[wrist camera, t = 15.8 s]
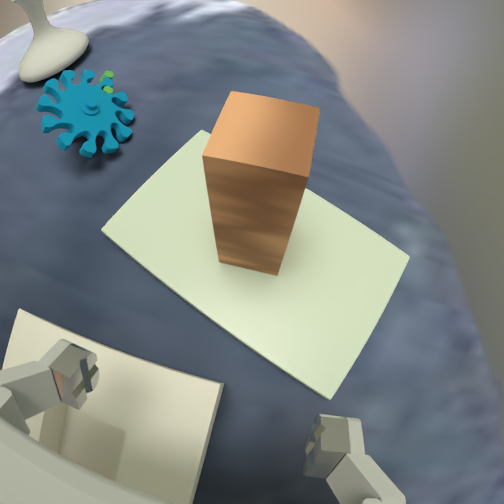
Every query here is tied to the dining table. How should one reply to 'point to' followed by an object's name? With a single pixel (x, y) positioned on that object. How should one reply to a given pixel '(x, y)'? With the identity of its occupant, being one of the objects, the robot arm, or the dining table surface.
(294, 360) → the mat
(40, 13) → the flower in vase
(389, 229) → the dining table surface
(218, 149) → the peg
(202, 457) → the socket block
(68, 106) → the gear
